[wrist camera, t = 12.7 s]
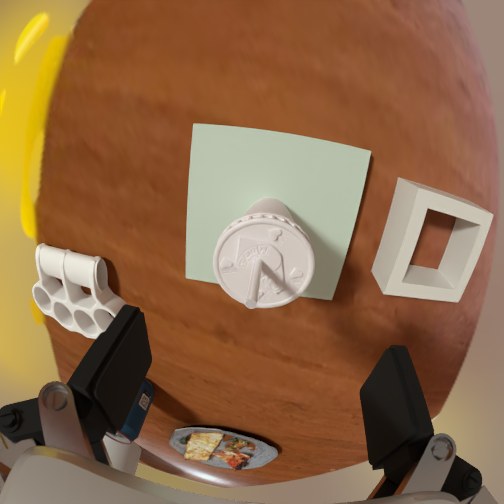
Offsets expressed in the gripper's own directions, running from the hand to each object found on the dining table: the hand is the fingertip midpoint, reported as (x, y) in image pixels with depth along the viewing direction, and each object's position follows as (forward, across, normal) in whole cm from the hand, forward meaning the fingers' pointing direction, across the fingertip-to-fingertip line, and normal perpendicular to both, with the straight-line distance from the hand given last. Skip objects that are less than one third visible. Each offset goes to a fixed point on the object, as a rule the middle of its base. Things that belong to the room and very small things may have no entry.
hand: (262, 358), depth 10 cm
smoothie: (+18, 0, +1) cm, 18 cm away
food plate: (+17, +2, +55) cm, 58 cm away
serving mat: (+18, 0, +1) cm, 18 cm away
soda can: (+17, +18, +34) cm, 43 cm away
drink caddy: (+18, -17, 0) cm, 25 cm away
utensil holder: (+16, +32, +74) cm, 83 cm away
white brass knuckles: (+18, +26, +16) cm, 35 cm away
